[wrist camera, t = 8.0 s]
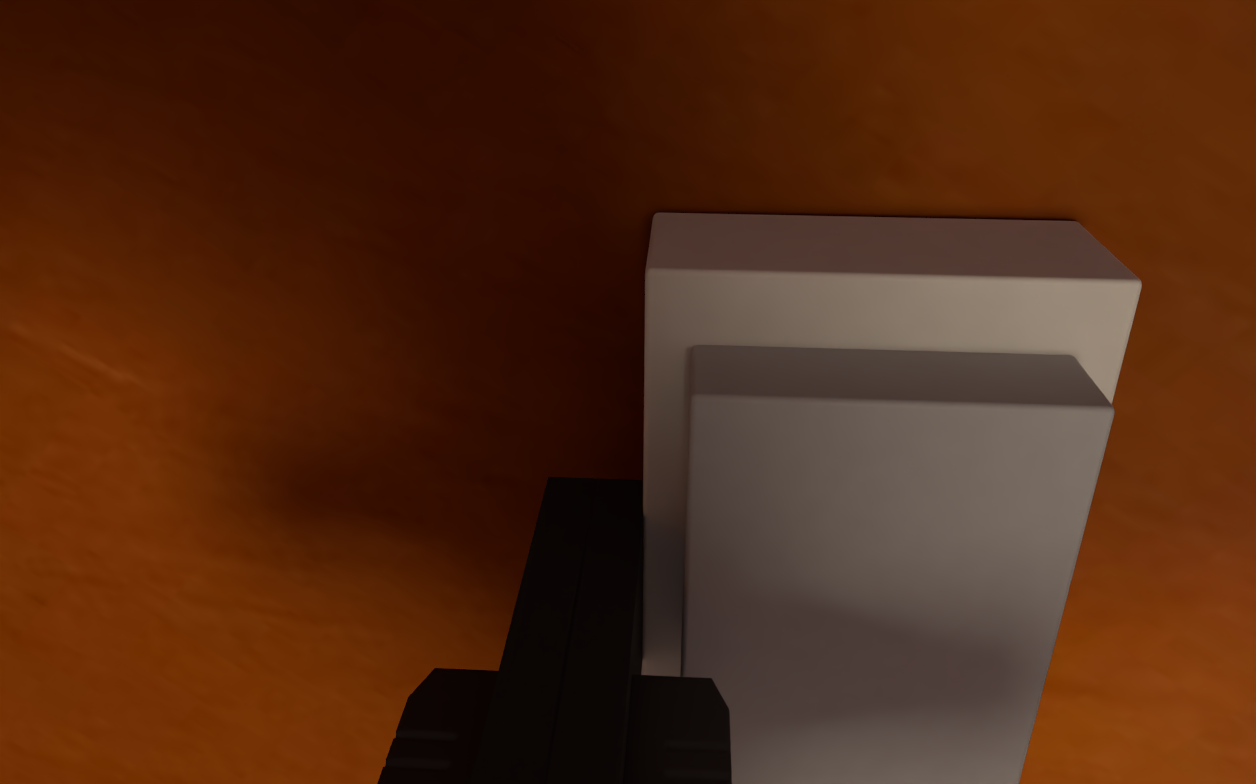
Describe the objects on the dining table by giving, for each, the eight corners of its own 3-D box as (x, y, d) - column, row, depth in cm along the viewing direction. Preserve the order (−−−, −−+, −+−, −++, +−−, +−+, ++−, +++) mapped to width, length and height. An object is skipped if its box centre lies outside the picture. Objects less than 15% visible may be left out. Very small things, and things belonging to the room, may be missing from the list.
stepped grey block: (653, 211, 14) (637, 313, 11) (1078, 219, 14) (1197, 329, 11) (646, 718, 19) (635, 901, 16) (966, 735, 19) (1024, 924, 15)
